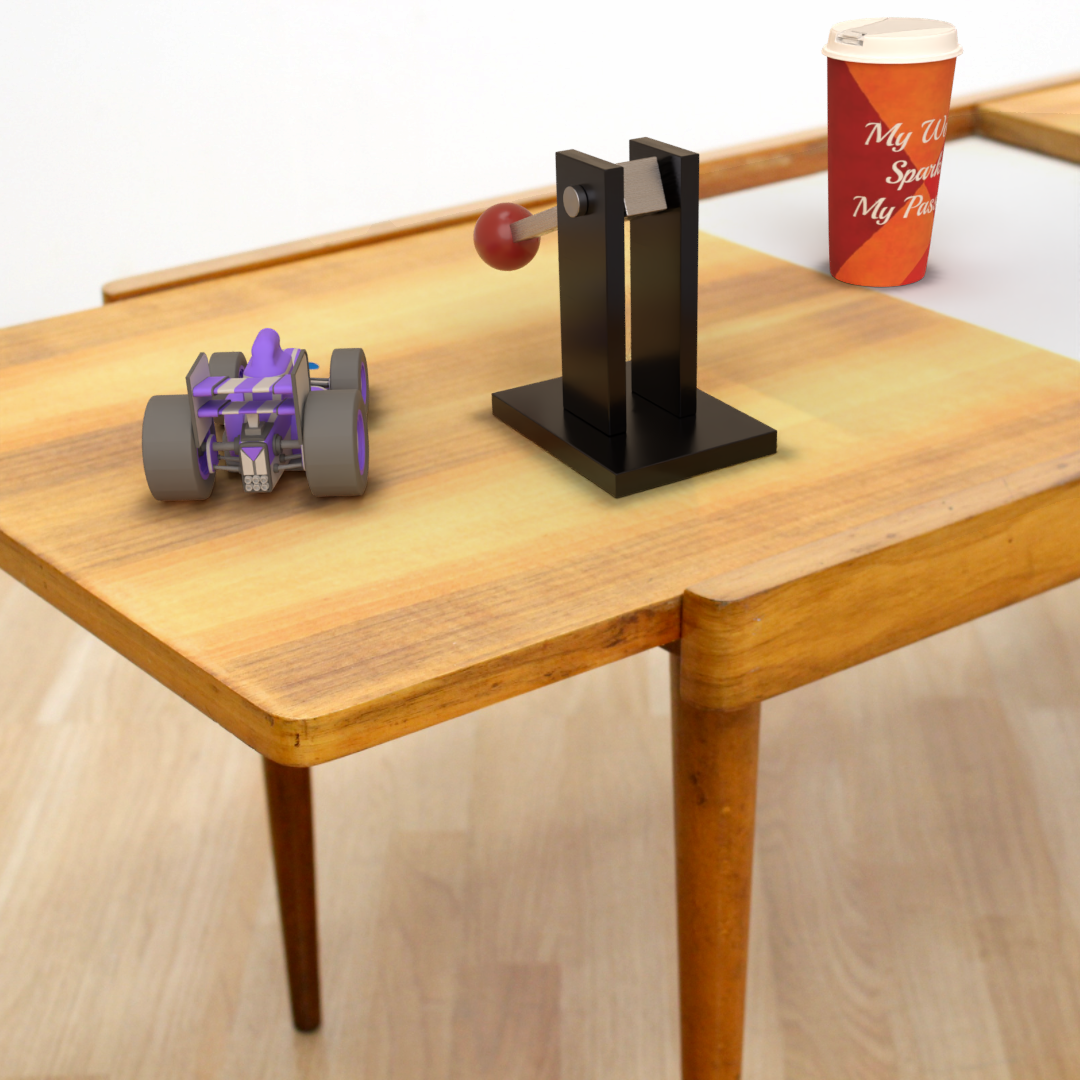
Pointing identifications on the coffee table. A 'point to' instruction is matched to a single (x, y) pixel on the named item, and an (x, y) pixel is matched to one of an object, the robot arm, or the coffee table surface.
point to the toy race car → (261, 423)
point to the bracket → (656, 338)
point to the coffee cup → (886, 144)
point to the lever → (516, 233)
